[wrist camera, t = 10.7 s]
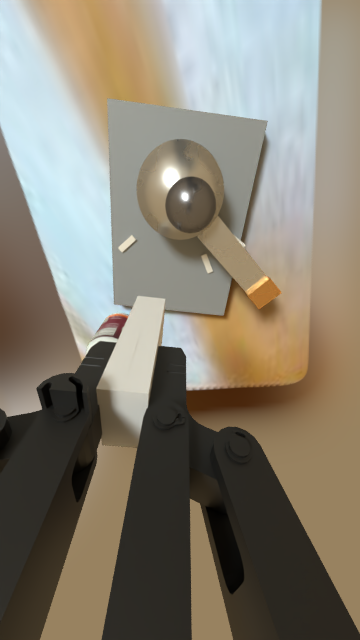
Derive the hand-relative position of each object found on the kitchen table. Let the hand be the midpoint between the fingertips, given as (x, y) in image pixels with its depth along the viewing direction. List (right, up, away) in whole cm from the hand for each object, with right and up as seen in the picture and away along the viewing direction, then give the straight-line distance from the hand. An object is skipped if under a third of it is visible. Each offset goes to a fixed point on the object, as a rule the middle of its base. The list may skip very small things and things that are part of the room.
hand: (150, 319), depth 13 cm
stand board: (+1, +10, +11) cm, 15 cm away
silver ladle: (+5, +9, +10) cm, 14 cm away
